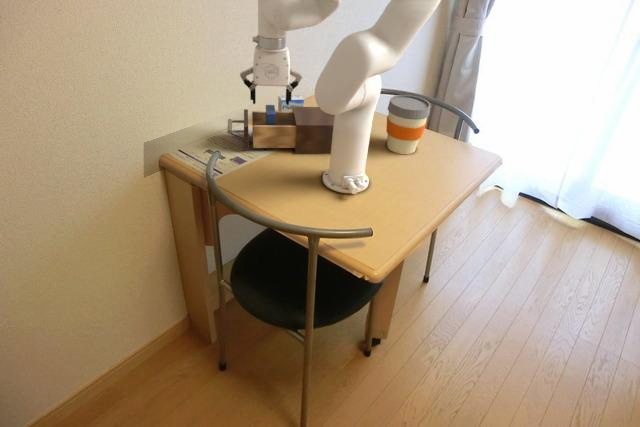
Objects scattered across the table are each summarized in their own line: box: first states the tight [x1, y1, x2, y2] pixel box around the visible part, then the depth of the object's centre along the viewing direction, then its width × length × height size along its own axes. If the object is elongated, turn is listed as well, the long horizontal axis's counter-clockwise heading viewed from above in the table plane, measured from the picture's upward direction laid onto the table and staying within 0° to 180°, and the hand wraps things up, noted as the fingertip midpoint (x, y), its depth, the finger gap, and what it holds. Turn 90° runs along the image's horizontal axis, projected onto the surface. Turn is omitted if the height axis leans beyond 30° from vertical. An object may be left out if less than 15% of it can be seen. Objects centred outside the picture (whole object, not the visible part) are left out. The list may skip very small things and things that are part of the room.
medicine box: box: [277, 95, 305, 112], centre depth 148 cm, size 8×4×9 cm, turn 105°
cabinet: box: [292, 106, 336, 155], centre depth 136 cm, size 19×14×9 cm
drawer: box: [226, 108, 296, 151], centre depth 134 cm, size 22×12×7 cm, turn 98°
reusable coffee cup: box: [386, 94, 431, 155], centre depth 136 cm, size 13×13×15 cm
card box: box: [265, 104, 276, 125], centre depth 133 cm, size 3×7×9 cm, turn 8°
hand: (270, 102), depth 129 cm, fingers open, 9 cm apart
